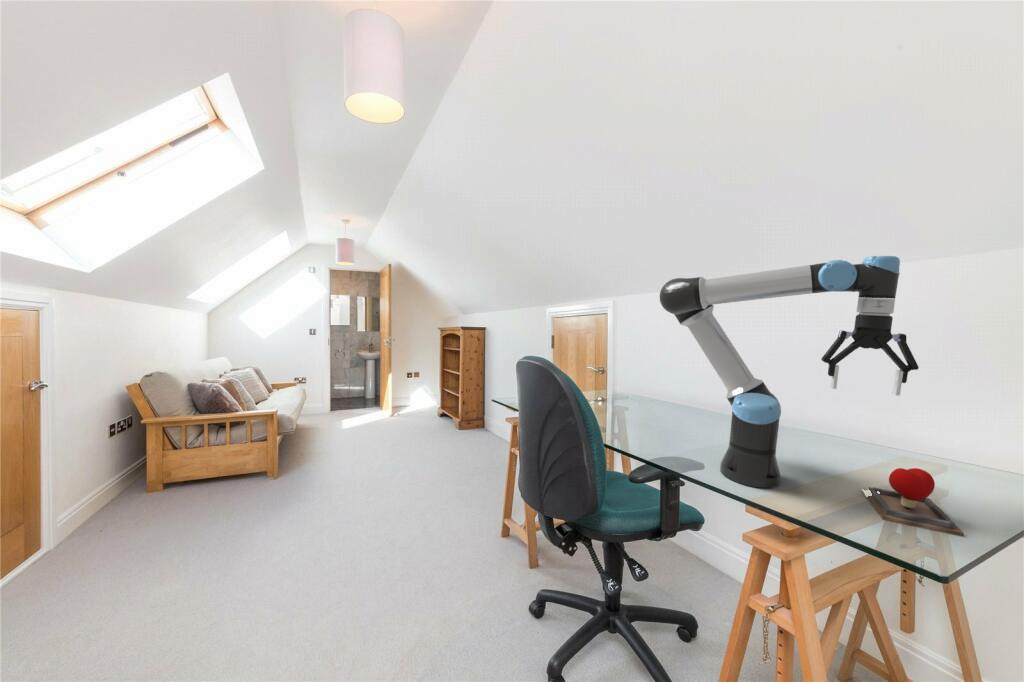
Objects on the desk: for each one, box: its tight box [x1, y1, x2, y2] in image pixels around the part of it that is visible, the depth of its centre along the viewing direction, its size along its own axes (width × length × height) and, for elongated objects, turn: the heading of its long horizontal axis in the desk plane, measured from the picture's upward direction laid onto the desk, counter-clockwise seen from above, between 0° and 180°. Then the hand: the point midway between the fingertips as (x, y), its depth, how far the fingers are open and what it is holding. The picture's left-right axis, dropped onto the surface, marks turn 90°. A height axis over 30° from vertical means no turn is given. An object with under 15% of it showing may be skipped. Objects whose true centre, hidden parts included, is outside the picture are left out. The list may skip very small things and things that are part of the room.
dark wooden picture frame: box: [866, 486, 965, 537], centre depth 101 cm, size 14×16×2 cm
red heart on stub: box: [888, 467, 936, 509], centre depth 101 cm, size 9×7×10 cm
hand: (863, 391), depth 113 cm, fingers open, 13 cm apart
